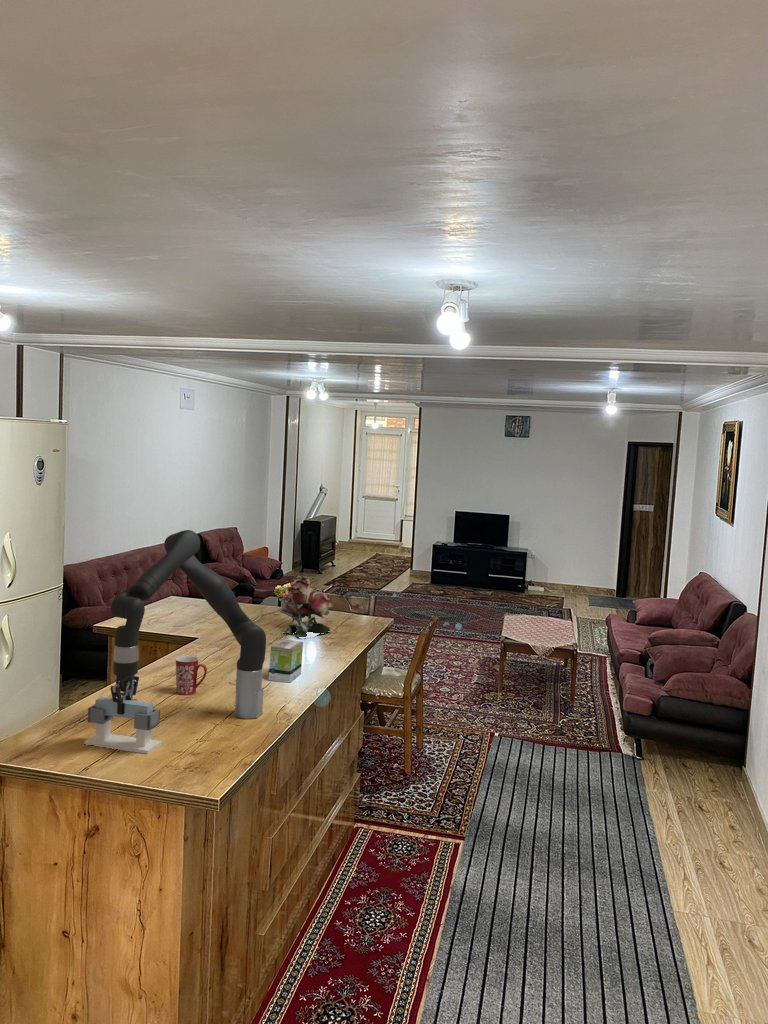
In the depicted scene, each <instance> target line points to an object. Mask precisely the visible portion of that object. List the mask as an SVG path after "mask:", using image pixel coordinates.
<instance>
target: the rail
mask: <svg viewBox="0 0 768 1024" xmlns="http://www.w3.org/2000/svg"><path fill="white" fill-rule="evenodd" d="M94 705H95V708H99V709H105V710H104V715H109V716H114V717H117V718H123V719H124V718H125V719H133V720H134V714H135V713H137V714H145V715H149V714H151V713H153V709H154V703H153V702H145V701H138V700H133V699H131V700H125V711H124V714H123V715H120V714H117V702H113V699H112V697H107V696H100V697H98V698H96V699H95V704H94Z"/></svg>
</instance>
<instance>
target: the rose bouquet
mask: <svg viewBox="0 0 768 1024" xmlns="http://www.w3.org/2000/svg"><path fill="white" fill-rule="evenodd" d="M286 592H287V595H286V596H285V597H283V600H282V601H281V609H280V610H279V613H282V614H285V615H286V616H288V617H290V618H291V619H292V620H291V622H290V624H288V625H287V628H286V629H287V630H286V629H285V630H286V631H283V630H282V632H286V633H289V634H288V635H290V634H293V633H295V632H296V633H298V634H294V635H293V636H292V637H294V638H297V637H298V639H299V637H306V636H307V634H306V633H307V632H313V633H320V634H321V633H326V632H328V631H330V632H331V628H330V627H329V626H327V625H325V624H323V623H322V622H321V623H320V622H317V620H316V616H317V617H320V618H322V619H326V620H327V619H328V618H326V617H325V616H328V615H329V614H330V609H331V608H334V604H333V602H331V601H330V600H331V599H330V598H328V595H327V593H325V592H322V591H319V590H318V591H316V587H314V586H313V584H312V582H311V580H310V579H309V577H308V576H301V575H300V576H299V575H298V576H297V577H295V578H293V581H292V582H291V583H290V587H289V586H287V587H286ZM312 615H313V616H312ZM323 615H324V616H323ZM305 617H307V619H306V620H305V621H303V620H302V619H304V618H305ZM294 621H296V623H297V624H294ZM286 633H285V634H286ZM328 633H329V632H328Z"/></svg>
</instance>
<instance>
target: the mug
mask: <svg viewBox="0 0 768 1024" xmlns="http://www.w3.org/2000/svg"><path fill="white" fill-rule="evenodd" d="M174 661H175V676H176V677H175V680H176V682H175V683H176V684H175V685H176V694H177V695H182V696H190V695H194V694H196V692H197V688H198V687H199V686H200V685H201V684H202V683H203V681H204V680H205V678H206V676H207V672H208V667H207V665H206V664H204V663H199V657H197V656H195V655H182V656H181V655H180V656H177V657H176V658H175V659H174ZM201 667H202V668H203V671H204V672H203V673H204V674H203V676H202V678H201V679H200V680H199V682H198V683H197V680H198V670H199V668H201Z"/></svg>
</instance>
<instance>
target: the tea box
mask: <svg viewBox="0 0 768 1024" xmlns="http://www.w3.org/2000/svg"><path fill="white" fill-rule="evenodd" d="M303 649H304V641H302V640H301V641H300V640H299V641H298V640H292V639H290V640H289V639H280V640H279V641H277V642H275V643H274V644H272V645H271V646H270V655H269V667H268V681H272V682H279V683H292V681H293V680H296V678H298V677H299V676H301V675H302V666H303V663H302V662H303Z"/></svg>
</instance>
